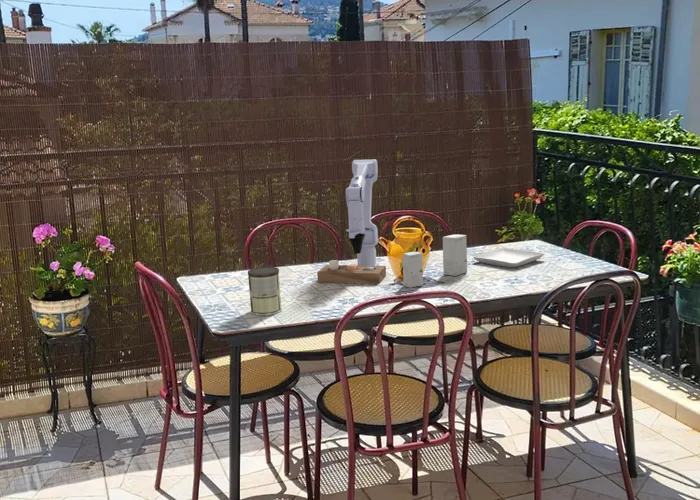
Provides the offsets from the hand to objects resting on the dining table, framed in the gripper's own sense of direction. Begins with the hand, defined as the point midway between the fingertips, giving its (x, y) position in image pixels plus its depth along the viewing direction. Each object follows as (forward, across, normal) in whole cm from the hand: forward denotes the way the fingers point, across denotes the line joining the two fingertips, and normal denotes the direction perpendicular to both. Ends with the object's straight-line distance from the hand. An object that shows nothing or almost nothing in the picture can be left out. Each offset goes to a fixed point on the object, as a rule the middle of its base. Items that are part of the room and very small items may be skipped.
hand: (357, 253), depth 275 cm
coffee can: (+10, +46, -20) cm, 51 cm away
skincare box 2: (+10, -11, +36) cm, 39 cm away
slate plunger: (+10, +1, +5) cm, 11 cm away
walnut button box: (+10, +1, -2) cm, 10 cm away
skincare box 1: (+10, +8, +23) cm, 26 cm away
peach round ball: (+9, +1, -2) cm, 9 cm away
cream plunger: (+7, +2, -9) cm, 12 cm away
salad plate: (+11, -32, +54) cm, 64 cm away
